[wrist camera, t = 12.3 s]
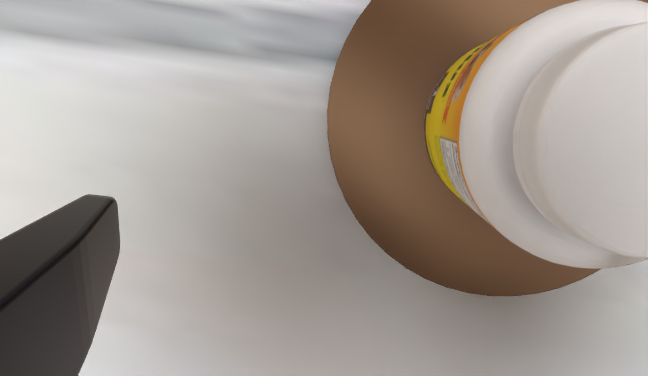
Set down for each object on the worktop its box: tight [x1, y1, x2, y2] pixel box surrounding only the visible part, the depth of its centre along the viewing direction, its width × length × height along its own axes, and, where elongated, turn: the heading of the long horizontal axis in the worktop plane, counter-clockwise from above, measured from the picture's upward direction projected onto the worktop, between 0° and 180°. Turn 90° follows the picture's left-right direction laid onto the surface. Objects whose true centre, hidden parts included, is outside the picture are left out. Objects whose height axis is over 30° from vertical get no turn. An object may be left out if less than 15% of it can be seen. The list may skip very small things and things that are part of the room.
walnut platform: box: [327, 0, 648, 296], centre depth 21 cm, size 12×12×3 cm
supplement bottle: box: [424, 0, 648, 269], centre depth 15 cm, size 6×6×10 cm
